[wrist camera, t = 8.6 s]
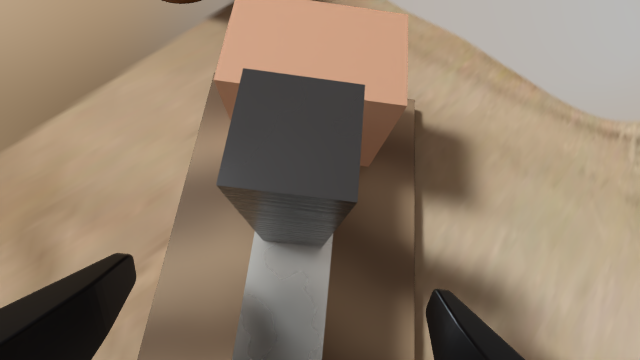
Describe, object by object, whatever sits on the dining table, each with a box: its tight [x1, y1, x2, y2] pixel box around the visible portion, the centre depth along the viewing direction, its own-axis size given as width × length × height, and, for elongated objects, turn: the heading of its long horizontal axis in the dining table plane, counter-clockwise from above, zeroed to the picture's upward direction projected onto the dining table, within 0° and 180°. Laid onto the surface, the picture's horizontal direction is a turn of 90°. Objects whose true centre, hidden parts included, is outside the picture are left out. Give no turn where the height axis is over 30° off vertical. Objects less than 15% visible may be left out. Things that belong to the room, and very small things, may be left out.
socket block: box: [214, 0, 408, 167], centre depth 16 cm, size 5×8×7 cm, turn 84°
